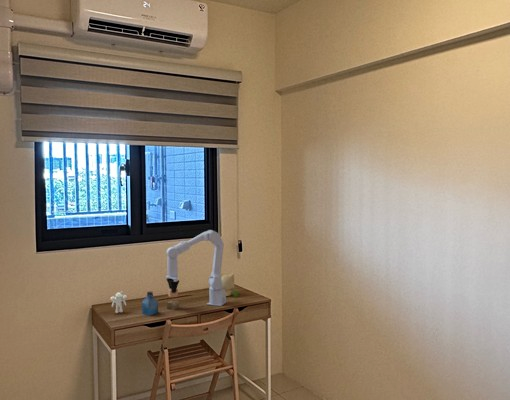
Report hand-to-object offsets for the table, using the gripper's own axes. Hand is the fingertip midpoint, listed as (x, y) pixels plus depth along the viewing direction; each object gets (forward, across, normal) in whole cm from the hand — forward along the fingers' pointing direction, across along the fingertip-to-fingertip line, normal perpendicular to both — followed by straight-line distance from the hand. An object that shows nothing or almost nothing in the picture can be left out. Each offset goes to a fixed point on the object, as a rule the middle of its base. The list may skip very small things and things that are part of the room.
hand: (172, 291), depth 272 cm
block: (+3, 0, 0) cm, 3 cm away
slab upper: (+8, 0, 0) cm, 8 cm away
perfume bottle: (+10, +4, -14) cm, 18 cm away
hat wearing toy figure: (+10, -6, -30) cm, 32 cm away
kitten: (+10, -13, +38) cm, 41 cm away
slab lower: (+10, 0, 0) cm, 10 cm away
